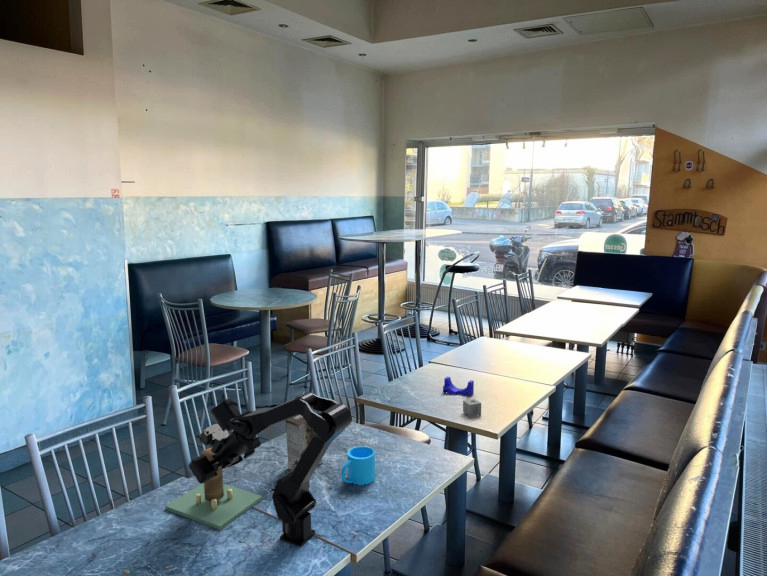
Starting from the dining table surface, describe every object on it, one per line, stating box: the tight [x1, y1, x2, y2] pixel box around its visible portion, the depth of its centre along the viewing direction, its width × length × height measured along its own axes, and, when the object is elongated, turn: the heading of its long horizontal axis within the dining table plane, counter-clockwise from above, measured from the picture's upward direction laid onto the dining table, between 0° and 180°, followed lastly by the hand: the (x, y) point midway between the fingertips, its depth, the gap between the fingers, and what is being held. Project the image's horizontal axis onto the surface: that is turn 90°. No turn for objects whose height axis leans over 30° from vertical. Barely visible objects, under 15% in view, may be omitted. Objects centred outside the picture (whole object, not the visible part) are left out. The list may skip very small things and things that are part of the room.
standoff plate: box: [164, 483, 263, 531], centre depth 151 cm, size 20×16×4 cm
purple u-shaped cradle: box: [442, 376, 475, 397], centre depth 232 cm, size 12×4×6 cm, turn 62°
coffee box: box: [285, 414, 323, 471], centre depth 170 cm, size 9×6×16 cm
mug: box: [340, 445, 376, 486], centre depth 162 cm, size 12×8×8 cm
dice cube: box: [462, 398, 482, 418], centre depth 211 cm, size 5×5×5 cm
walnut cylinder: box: [200, 447, 224, 501], centre depth 149 cm, size 5×5×13 cm
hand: (209, 472), depth 150 cm, fingers closed on walnut cylinder, 5 cm apart
